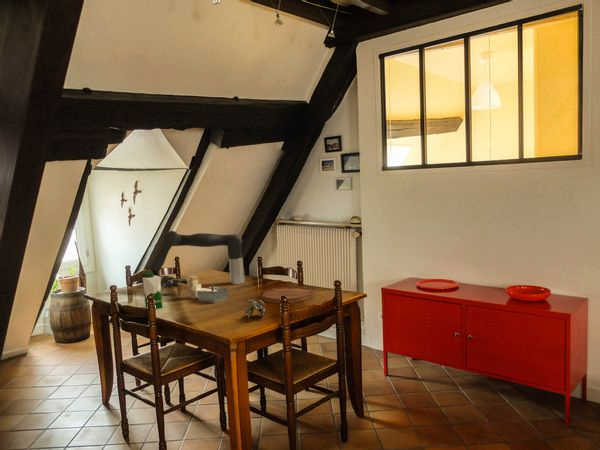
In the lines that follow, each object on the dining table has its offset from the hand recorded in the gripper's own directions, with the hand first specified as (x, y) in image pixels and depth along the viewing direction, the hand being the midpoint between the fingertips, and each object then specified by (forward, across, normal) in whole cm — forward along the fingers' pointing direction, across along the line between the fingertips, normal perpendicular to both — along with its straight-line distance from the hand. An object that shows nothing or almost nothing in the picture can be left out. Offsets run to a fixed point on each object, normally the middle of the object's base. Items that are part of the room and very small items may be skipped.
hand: (182, 283), depth 308 cm
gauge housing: (+25, 0, +7) cm, 26 cm away
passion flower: (+71, -18, +7) cm, 74 cm away
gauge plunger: (+19, 0, +6) cm, 20 cm away
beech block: (+9, 0, +8) cm, 12 cm away
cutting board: (+64, +24, +8) cm, 68 cm away
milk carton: (+5, -27, +8) cm, 29 cm away
